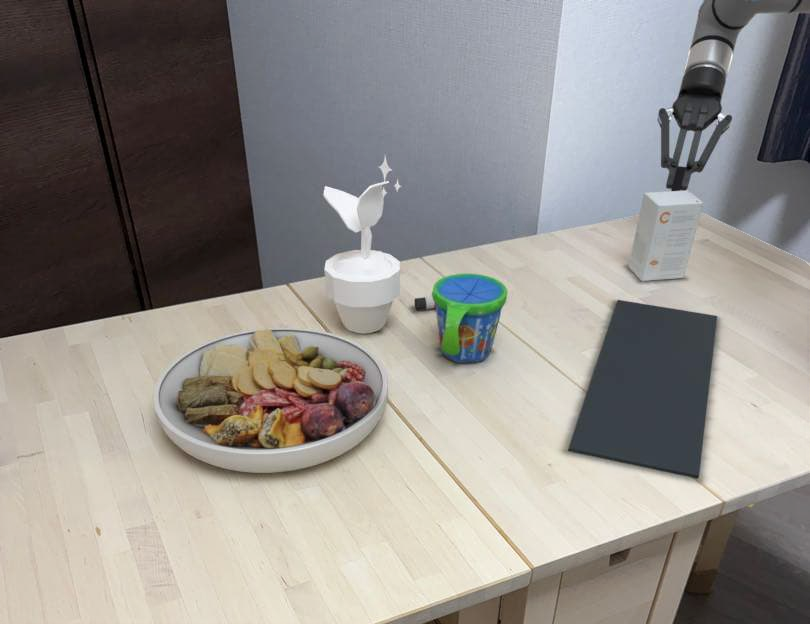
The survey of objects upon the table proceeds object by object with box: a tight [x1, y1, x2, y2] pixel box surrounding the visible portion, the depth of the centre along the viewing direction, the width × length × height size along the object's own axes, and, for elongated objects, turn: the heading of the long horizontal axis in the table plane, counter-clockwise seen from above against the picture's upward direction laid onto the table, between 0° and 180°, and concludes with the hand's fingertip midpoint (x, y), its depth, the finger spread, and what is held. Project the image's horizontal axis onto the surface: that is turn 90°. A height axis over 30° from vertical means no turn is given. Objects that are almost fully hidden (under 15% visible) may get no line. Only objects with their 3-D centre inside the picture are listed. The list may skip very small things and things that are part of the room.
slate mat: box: [567, 299, 718, 480], centre depth 107 cm, size 16×44×1 cm, turn 160°
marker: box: [413, 295, 436, 311], centre depth 123 cm, size 15×2×2 cm, turn 104°
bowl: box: [152, 326, 389, 474], centre depth 97 cm, size 30×30×8 cm
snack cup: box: [431, 273, 509, 364], centre depth 109 cm, size 16×10×10 cm
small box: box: [628, 189, 704, 282], centre depth 129 cm, size 8×6×13 cm
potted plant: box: [323, 154, 403, 334], centre depth 109 cm, size 13×12×25 cm
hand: (671, 205), depth 133 cm, fingers closed
